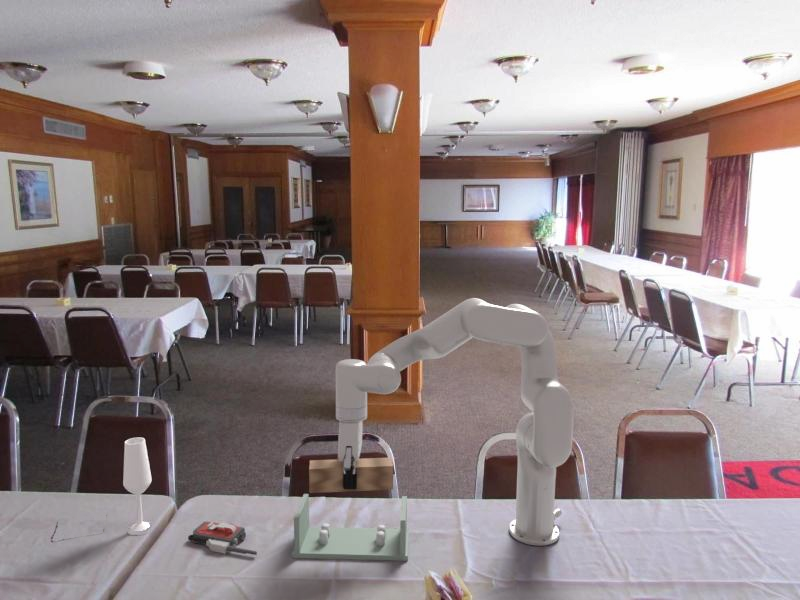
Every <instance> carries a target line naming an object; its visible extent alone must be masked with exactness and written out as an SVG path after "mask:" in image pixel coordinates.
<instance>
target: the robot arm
mask: <svg viewBox="0 0 800 600" xmlns="http://www.w3.org/2000/svg"><path fill="white" fill-rule="evenodd" d="M471 339H476V340H480V341H482V342H483V341H484V342H488V343H493V344H500V345H506V346H513V347H519V349H520V356H521V359H520V360H521V378H520V379H521V383H520V397H521V400H522V402H523V404H524V405H525V406H526V407H527V408H528V409H529V410H530V411H531V412H528V413H526V414H525V415H523V416H521V418H520V420H518V423H517V425H516V430H515V437H516V438H515V441H516V451H517V452H516V453H517V454H516V455H517V472H516V473H517V474H516V495H515V497H516V499H515V519H513V520H511V522H510V523H509V524H508V525H509V526H508V527H509V529H508V530H509V534H510V535H511V536H512V537H513V539H515V540H516V541H519V542H521V543H523V544H525V545H531V546H536V547H537V546H539V547H542V546H548V545H552V544H554V543H556V542H557V541H558V540H559V538H560V530H559V528H558V526H557V525H556V524H555V521H556V519H557V518H559V517H561V516H562V514H563V513H562V510H561V509H560V508H555V496H556V478H557V468H558V467H560V466H562V465H563V464H564V463H565V462H567V461H568V459H569V457H570V455H571V452H572V449H573V436H574V435H573V433H574V403H573V398H572V396H571V394H570V393H571V392H569V389H568V388H567V387H565V385H563V384H562V383H560V382H559V379H558V362H557V360H558V359H557V356H558V355H557V353H558V352H557V346H556V342H555V339H554V336H553V334H552V331H551V329H550V328H549V324H548V322H547V320H546V319H545V317H544V316H543V314H541V313H540V312H537V311H536V310H533V309H531V308H530V307H528V306H526V305H523V304H519V303H511V304H509V305H506V306H505V307H504V306H501V305H500V306H499V305H495V304H492V303H489V302H487V301H485V300H483V299H481V298H477V297H471V298H470V297H469V298H468V299H465V300H464V301H463V300H462V302H460V303H459V304H457V305H455V306H454V307H452V308H451V309H449V310H448V311H446V312H445V313H443V314H442V315H440V316H438V317H437V318H436V319H434V320H433V321H431V322H429V323H428V324H426V325H425V326H423V327H421V328H419V329H417V330H414V331H412V332H410V333H407V334H406V335H403V336H402V337H399V338H398V339H395V340H394V341H393V342H391V343H389V344H387V346H384V347H383V348H381V349H380V350H379V351H377V352H376V353H374V354H373V355H371V357H370V358H369V359H368V362H367V363H366V362H365V361H364V360H361V359H358V358H357V359H355V358H348V359H343V360H340V361H338V362H337V363H336V365H335V419H336V421H339V425H338V437H337V438H338V439H337V440H338V441H337V442H338V444H337V446H338V447H337V459H338V461H339V462H341V461H343V459H344V472H343V489H356V488H357V473H356V462H357V461H358V460H359V459H360V456H361V451H362V446H363V422H364V421H365V420H367V419H368V393H370V394H378V395H388V394H392V393H394V392H395V391H397V390H398V388H399V387H400V386H401V381H402V377H401V371H403V370H405V369H406V368H408V367H409V366H411V365H413V364H415V363H417V362H420V361H421V362H422V361H424V360H433V359H435V360H436V359H441V358H444V357H445V356H447V355H448V354H450V353H452V352H453V351H455V350H456V349H457V348H460V347H461V346H462V345H464V344H465V343H467V342H468V341H470V340H471ZM351 459H354V460H351ZM351 463H353V466H351Z"/></svg>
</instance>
